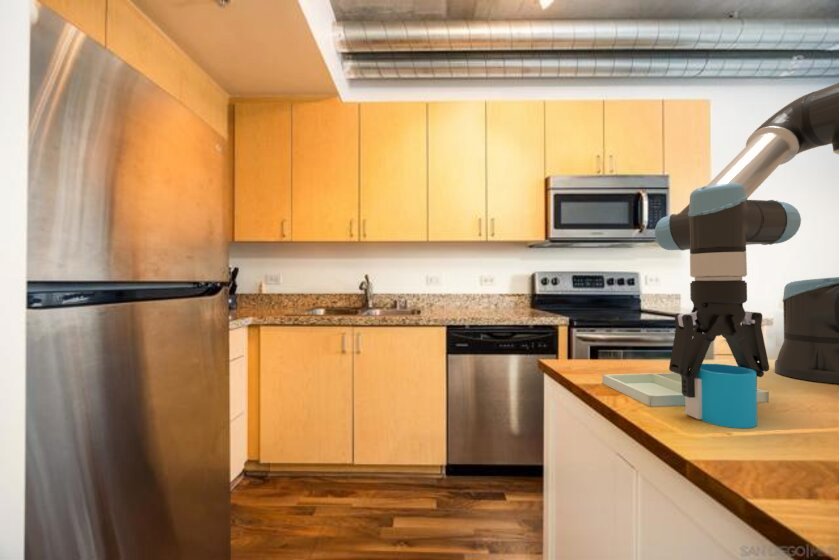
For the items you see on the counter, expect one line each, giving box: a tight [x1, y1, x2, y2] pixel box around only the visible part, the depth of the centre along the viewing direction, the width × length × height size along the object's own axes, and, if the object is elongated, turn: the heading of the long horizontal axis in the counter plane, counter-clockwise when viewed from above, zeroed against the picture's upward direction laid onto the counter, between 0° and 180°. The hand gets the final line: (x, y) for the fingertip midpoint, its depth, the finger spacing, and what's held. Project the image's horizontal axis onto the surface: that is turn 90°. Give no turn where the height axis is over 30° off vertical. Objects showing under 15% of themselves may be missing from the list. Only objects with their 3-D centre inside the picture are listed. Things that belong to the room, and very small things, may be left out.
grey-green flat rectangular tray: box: [601, 372, 770, 408], centre depth 80 cm, size 23×16×2 cm
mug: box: [697, 363, 758, 429], centre depth 66 cm, size 12×8×8 cm
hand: (719, 414), depth 66 cm, fingers closed on mug, 8 cm apart
